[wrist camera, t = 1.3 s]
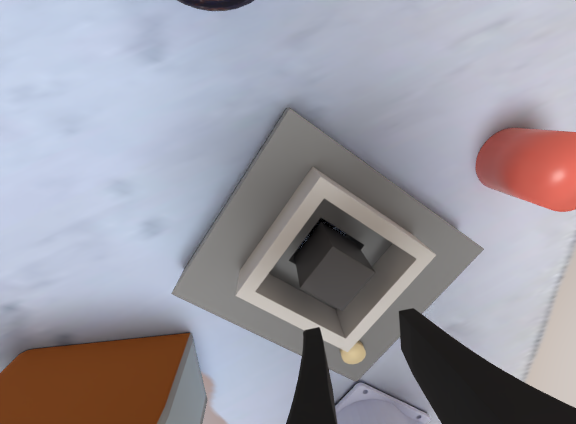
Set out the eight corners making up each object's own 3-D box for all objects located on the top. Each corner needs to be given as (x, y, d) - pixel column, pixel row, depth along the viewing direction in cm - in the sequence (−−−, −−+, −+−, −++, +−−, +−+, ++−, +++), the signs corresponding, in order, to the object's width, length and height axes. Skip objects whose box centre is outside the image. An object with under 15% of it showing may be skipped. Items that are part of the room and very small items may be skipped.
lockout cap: (548, 150, 21) (631, 163, 16) (502, 199, 22) (567, 225, 17) (508, 114, 20) (585, 116, 15) (463, 168, 21) (520, 185, 16)
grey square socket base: (456, 231, 22) (516, 270, 17) (346, 352, 26) (367, 416, 20) (286, 108, 18) (294, 107, 13) (183, 270, 22) (156, 322, 16)
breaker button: (357, 244, 19) (375, 272, 16) (330, 277, 20) (342, 311, 16) (320, 221, 18) (332, 246, 15) (294, 257, 19) (300, 288, 16)
